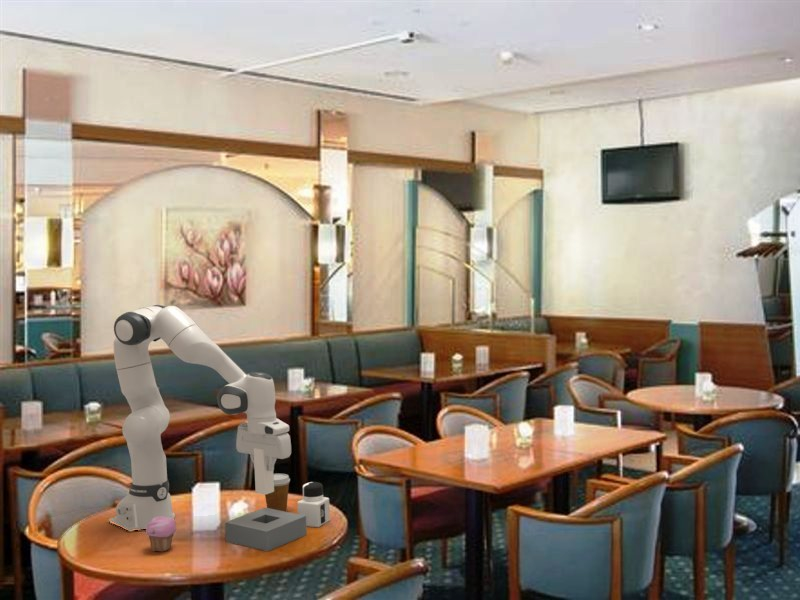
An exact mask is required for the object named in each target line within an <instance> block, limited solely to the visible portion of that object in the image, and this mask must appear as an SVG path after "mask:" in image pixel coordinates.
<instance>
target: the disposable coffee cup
mask: <svg viewBox="0 0 800 600" xmlns="http://www.w3.org/2000/svg"><path fill="white" fill-rule="evenodd" d="M273 475H274V492H272V493H269V494H266V495H264V497H265V503H266V508H270V509H275V510H280V511H284V512H287V511H288V508H287V507H288V497H289V496H288V495H289V486H290V482H291V478H290V476H289V474H286V473H273Z"/></svg>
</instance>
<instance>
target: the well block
mask: <svg viewBox="0 0 800 600" xmlns="http://www.w3.org/2000/svg"><path fill="white" fill-rule="evenodd" d="M224 525H225V527H224V528H225V529H224V531H225V542H227V543H230V544H235V545H238V546H239V545H240V546H244V547H248V548H252V549H255V550H260V551H263V552H269V551H271V550H275V549H277V548H279V547H281V546H283V545H286V544H288V543H290V542H293V541H296V540H297V539H300V538H303V537H305V536H307V526H306V516H304V515H299V514H298V513H295V512H288V511H286V512H284V511H280V510H275V509H270V508H267V507H263V508H261V509H257V510H254V511H251V512H249V513H246V514H243V515H241V516H238V517H235V518H233V519H230V520H228V521H225V522H224Z"/></svg>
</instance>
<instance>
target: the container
mask: <svg viewBox="0 0 800 600" xmlns="http://www.w3.org/2000/svg"><path fill="white" fill-rule="evenodd" d="M296 508H297V514H299V515H304V516H306V527H311V528H320V527H321V526H323V525H325V524H327V523H328V522H330V520H331V517H330V515H331V513H330V512H331V511H330V498H329V497H326V496H324V485H323V484H322V483H321V482H318V481H310V482H307V483H304V484H303V485H302V499H301V500H299V501H297V507H296Z"/></svg>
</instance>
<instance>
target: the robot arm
mask: <svg viewBox="0 0 800 600" xmlns="http://www.w3.org/2000/svg"><path fill="white" fill-rule="evenodd" d="M113 332H114V336H115V339H114V340H113V357H114V365H115V369H116V373H117V377H118V381H119V386H120V391H121V393H122V395H123V396H124V397H125V399H126V401H127V404H128V405H129V407H130V411H131V413H129V415H127V416H126V418H125V420H124V421H123V424H122V428H121V429H122V430H121V431H122V432H121V433H122V436H123V437H124V439H125V440H126V444H127V448H128V452H129V453H128V454H129V457H130V462H131V463H130V464H131V465H130V466H131V480H132V481H131V482H129V483H126V485H128V486H127V488H129V490H128V494H126V496H125V497H123V498H122V499H121V500H120V501H119V502H117V504H116V508H115V515H114V516H112V517H110V518H109V519H108V521H109V520H110V521H112V522H114V523H116V524H118V525H120V526H122V527H124V528H126V529H128V530H133V529H146V528H147V526H148V524H149V523H150V522H151V520H152V519H153V518H155V517H161V516H163V517H168V518H172V519H173V520H174V521H175V517H176V513H174V511H173V505H172V498H171V494H170V492H169V491H170V483H169V479H168V473H167V472H168V471H167V468H168V467H167V457H166V454H165V451H164V449H163V444H162V438H161V435H162V433H163V432H165V431H166V430H167V428H168V426H169V424H170V420H171V413H170V411H169V408H167V406H166V405H165V403H164V400H163V398H162V395H161V393H160V391H159V388H158V385H157V382H156V377H155V373H154V369H153V365H152V360H151V356H150V353H149V345H151V344H150V343H152V342H157V341H159V340H163V342H164V343H165V345H166V346H167V347H168V348H169V349H170V350H171V352H172V353H173V354H174V355H175V356H176V357H177V358H179V360H182V361H183V362H185V363H189V364H193V365H195V364H196V365H201V366H206V367H208V368H212V369H213V370H214V371H216V372H217V373H218V374H219V375H220V376H221V377H222V379H224V380H225V381H226V382H227V383H228V384H226V385H224V386H223V387H221V388H220V389H219V391H218V392H217V397H216V402H217V404H218V405H217V406H218V408H219V409H220V411H222V413H224V414H226V415H231V416H232V415H238V414H242V413H243V414H244V413H245V414H246V417H247V418H246V419H247V420H246V423H245V422H241V423H239V424H238V426H237V433H236V440H235V441H236V442H235V443H236V444H235V446H236V450H237V452H238V453H241V454H247V455H248V454H249V455H250V459H251V461H252V463H253V464H254V448H257V449H264V456H266V457H268V458H269V460H270V462H269V465H266V466H267V471H273V472H274V470H275V464H276V461H277V459H280V460H285V459H288V458H290V456H291V454H292V443H291V435H290V434H289V433H288V432H289V431H290V425H289V424H287V423H286V422H284V421H282V420H280V419H279V418H277V412H276V409H275V407H276V406H275V405H276V388H275V382H274V379H273V377H272V376H271V375H270V374H268V373H266V372H261V371H259V372H258V371H252V372H249V373H248V372H247V371H246V370H245V369H244V368H243V367H242V366H240V365H239V364H238V362H236V361H235V360H234V359H233V358H232V356H230V355H229V354H228V353H227V352H226V351H225V350H224V349H223V348H221V346H219V345H218V344H217V343H215V342H214V341H213V340H212V339H211V338H210V337H209V336H208V335H207V334H206V333H205V332H204V331H203V330H202V329H201V328H200V327H199V326H198V325H197V324H196V322H195V321H194V320H193V319H192V318H191V317H190V316H189V315H188V314H187V313H185V311H183V310H182V309H180V308H179V307H178V306H175V305H168V306H166V305H159V304H155V305H151V306H144V307H139V308H137V309H135V310H131V311H127V312H125V313H123V314H121V315H119V316H118V317H117V318H116V319H115V321H114V324H113ZM253 469H254V470H255V466H254V465H253ZM113 517H116V518H113Z"/></svg>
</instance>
